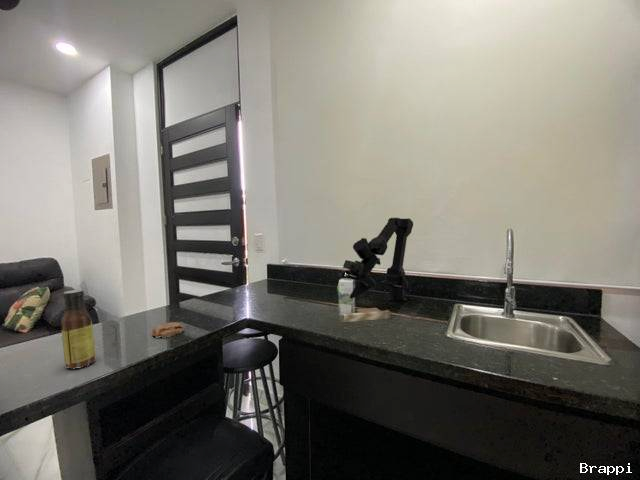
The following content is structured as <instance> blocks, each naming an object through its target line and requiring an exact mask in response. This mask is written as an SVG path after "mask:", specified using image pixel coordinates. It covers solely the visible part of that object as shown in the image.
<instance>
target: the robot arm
mask: <svg viewBox="0 0 640 480" xmlns="http://www.w3.org/2000/svg"><path fill="white" fill-rule="evenodd" d="M413 228H414V221H413V220H412V219H411V218H400V217H390V218H388V220H387V222H386V225H385V226H384V227H383V228H382V230H380V233H379V234H378V235H377V236H376V237H373V238H372V239H371V240H370V241H368V239H367V238H366V237H365V238H363V237H362V238H361V239H360V240H357V241H356V242H355V243H353V245H352V249H353V250H354V252H355V253H356V255H357V256H358V258H359V259H360V260H361V261H360V260H354V261H352V260H348V259H345V261H344V263H343V266H342V268H343V269H340V270H339V272H338V273H337V274H338V276H339V277H340V279H355V282H356V284H355V288H354V290H353V291H352V293H351V295H350V298H351V299H352V298H354V297H355V298H356V297H358V296H360V295H362V294H364V293H366V292H370V291H374V290H375V288H376V285H377V283H376V282H375V281H374V279H373V278H372V277H371V275H372V274H373V272H372V270H373V269H374V268H375V266H376V265H379V266H380V265H381V258H380V257H378V256H384V255H385V254H386V252H387V250H388V243H389V241H390V240H391V238H392V236H394V234H395V236H396V237H395V243H394V250H393V256H392V264H391V266H390V267H388V268H387V269H386V275H385V281H386V286H387V287H388V288H390V290H389V297H388V298H387V299H388V300H390V301H392V302H396V303H400V302H406V301H408V299H407V298H406V294H405V293H406V290H407V289H408V288H409V281H408V280H407V278H406V272H405V270H404V261H405V260H404V259H405V253H406V246H407V240H408V237H409V236H410V234H411V233H412V231H413ZM338 294H339V290H338V293H337V295H338Z"/></svg>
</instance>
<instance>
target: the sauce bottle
mask: <svg viewBox="0 0 640 480" xmlns="http://www.w3.org/2000/svg"><path fill="white" fill-rule="evenodd" d="M62 294H63V296H62V297H63V299H64V305H65V307H64V308H65V310H64V312H63V315H62V317H61V318H60V324H61V338H62V347H63V358H64V363H65V368H66V367H68V368H76V367H82V366H86V365H88V364H90V363H92V362H93V361H94V360H96V347H95V337H94V330H93V329H94V328H93V327H94V326H93V320H92V317H91V315H90V313H89V311H88V309H87V308H86V305H85V301H84V295H85V293H84V289H72V290H67V291H64V292H63V293H62ZM94 362H95V361H94ZM94 362H93V363H94ZM93 363H92V364H93ZM90 365H91V364H90ZM88 366H89V365H88ZM86 367H87V366H86Z"/></svg>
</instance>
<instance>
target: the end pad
mask: <svg viewBox="0 0 640 480" xmlns="http://www.w3.org/2000/svg"><path fill="white" fill-rule="evenodd" d="M374 311H381V310H380V309H379V308H377V307H370V308H358V309H356V308H355V312H356V313H362V312H374Z"/></svg>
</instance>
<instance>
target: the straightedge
mask: <svg viewBox="0 0 640 480" xmlns="http://www.w3.org/2000/svg"><path fill="white" fill-rule="evenodd" d="M338 318H339V322H340V323H342V324H343V323H351V322H364V321H375V320H383V319H384V320H385V319H391V311H390V310H389V309H386V310H380V311H374V312H362V313H358V312H355V313H350V314H339V313H338Z"/></svg>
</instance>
